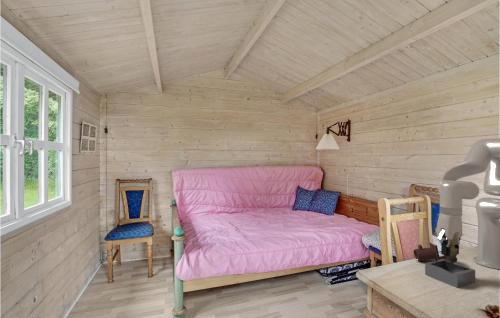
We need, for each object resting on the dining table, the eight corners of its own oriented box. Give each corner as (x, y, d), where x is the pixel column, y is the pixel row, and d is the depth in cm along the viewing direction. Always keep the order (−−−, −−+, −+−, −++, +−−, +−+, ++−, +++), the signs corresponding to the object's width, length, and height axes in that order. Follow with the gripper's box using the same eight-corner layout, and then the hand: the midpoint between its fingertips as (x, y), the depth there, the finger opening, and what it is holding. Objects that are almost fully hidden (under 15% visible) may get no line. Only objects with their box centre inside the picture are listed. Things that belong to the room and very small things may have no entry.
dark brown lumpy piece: (460, 264, 121) (456, 242, 122) (420, 267, 125) (416, 247, 125) (453, 259, 127) (449, 238, 128) (415, 262, 131) (411, 242, 131)
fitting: (442, 269, 118) (442, 258, 118) (475, 282, 107) (475, 269, 107) (425, 274, 114) (425, 263, 113) (457, 287, 102) (457, 275, 102)
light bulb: (461, 266, 108) (462, 230, 108) (451, 267, 107) (452, 231, 107) (447, 260, 114) (448, 226, 114) (438, 262, 112) (438, 227, 112)
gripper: (453, 208, 117) (452, 248, 117) (428, 211, 110) (427, 254, 110) (472, 211, 110) (472, 254, 110) (447, 215, 103) (447, 260, 103)
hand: (450, 253), depth 110 cm, fingers closed on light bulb, 5 cm apart
